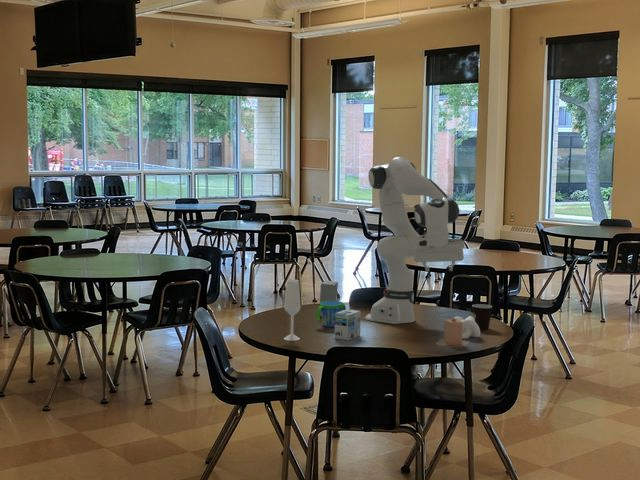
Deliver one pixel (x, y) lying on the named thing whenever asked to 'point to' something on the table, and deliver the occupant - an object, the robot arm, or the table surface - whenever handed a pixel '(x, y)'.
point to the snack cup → (329, 312)
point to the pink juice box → (453, 331)
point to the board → (442, 343)
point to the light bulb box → (347, 324)
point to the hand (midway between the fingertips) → (439, 270)
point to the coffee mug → (482, 315)
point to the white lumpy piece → (469, 327)
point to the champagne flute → (292, 304)
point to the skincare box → (328, 291)
